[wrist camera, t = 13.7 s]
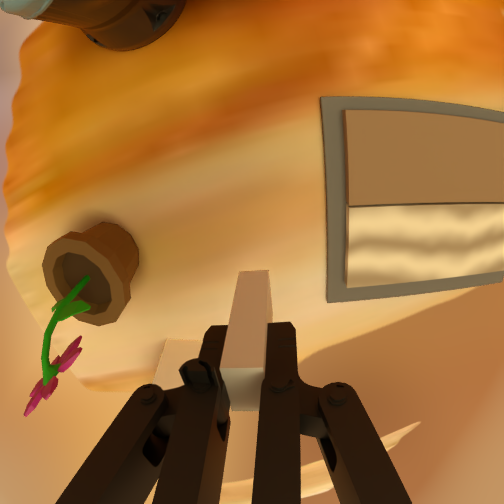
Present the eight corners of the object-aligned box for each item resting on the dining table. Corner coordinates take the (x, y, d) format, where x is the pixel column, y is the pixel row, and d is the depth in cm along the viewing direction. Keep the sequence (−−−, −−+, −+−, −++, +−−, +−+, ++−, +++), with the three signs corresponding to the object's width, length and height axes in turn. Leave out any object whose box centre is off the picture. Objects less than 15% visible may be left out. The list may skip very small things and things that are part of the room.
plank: (346, 203, 39) (349, 208, 38) (511, 200, 36) (518, 204, 34) (344, 280, 45) (346, 288, 43) (498, 264, 41) (504, 270, 40)
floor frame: (319, 97, 34) (323, 96, 32) (522, 116, 31) (533, 119, 28) (326, 299, 48) (329, 311, 45) (499, 279, 44) (507, 287, 41)
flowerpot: (116, 301, 51) (34, 437, 25) (63, 242, 47) (-51, 355, 20) (169, 261, 47) (79, 428, 20) (108, 191, 42) (-42, 310, 15)
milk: (234, 383, 59) (216, 500, 36) (179, 379, 60) (147, 489, 37) (228, 341, 53) (203, 476, 30) (166, 338, 54) (120, 460, 31)
